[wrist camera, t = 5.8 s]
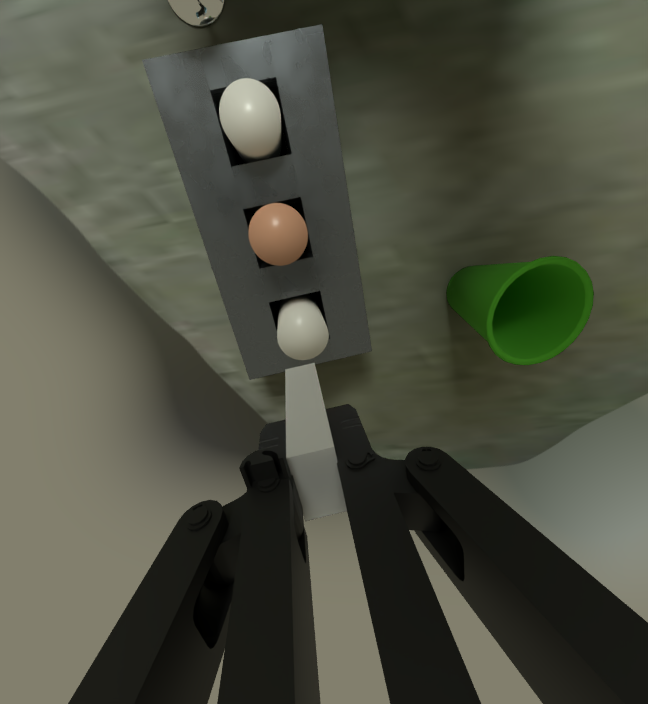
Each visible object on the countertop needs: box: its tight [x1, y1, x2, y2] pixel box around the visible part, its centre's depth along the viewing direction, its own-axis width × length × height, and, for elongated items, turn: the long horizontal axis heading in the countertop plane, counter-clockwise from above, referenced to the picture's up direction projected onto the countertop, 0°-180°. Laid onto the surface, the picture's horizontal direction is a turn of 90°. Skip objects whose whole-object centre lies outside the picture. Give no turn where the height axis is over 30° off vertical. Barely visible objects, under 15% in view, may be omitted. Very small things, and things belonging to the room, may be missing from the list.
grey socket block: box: [142, 24, 372, 380], centre depth 28 cm, size 24×12×6 cm, turn 12°
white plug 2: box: [277, 294, 329, 360], centre depth 27 cm, size 4×4×7 cm
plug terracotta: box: [248, 203, 308, 266], centre depth 24 cm, size 4×4×7 cm
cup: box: [446, 256, 594, 365], centre depth 30 cm, size 9×9×11 cm
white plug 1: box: [219, 78, 282, 163], centre depth 24 cm, size 4×4×7 cm
